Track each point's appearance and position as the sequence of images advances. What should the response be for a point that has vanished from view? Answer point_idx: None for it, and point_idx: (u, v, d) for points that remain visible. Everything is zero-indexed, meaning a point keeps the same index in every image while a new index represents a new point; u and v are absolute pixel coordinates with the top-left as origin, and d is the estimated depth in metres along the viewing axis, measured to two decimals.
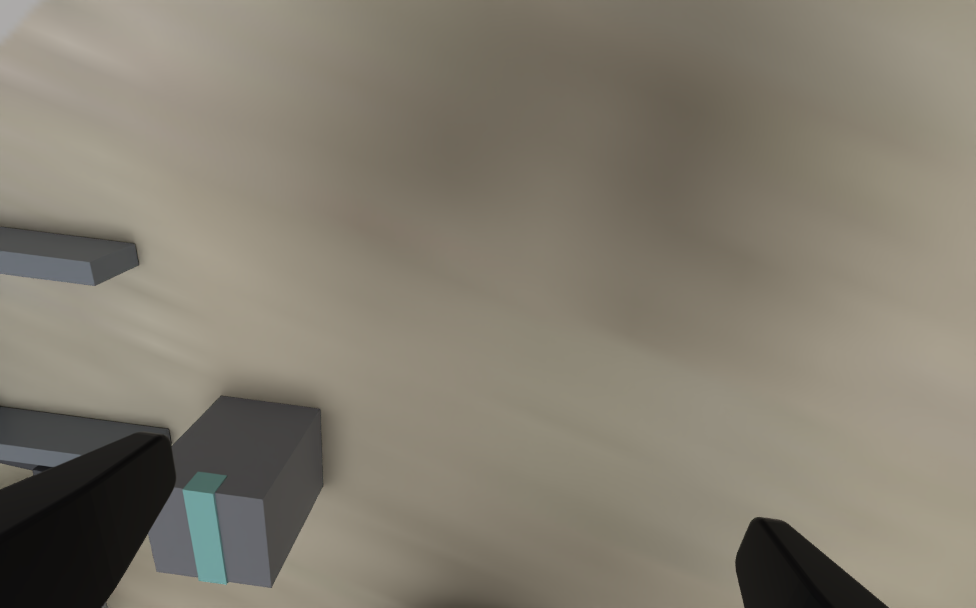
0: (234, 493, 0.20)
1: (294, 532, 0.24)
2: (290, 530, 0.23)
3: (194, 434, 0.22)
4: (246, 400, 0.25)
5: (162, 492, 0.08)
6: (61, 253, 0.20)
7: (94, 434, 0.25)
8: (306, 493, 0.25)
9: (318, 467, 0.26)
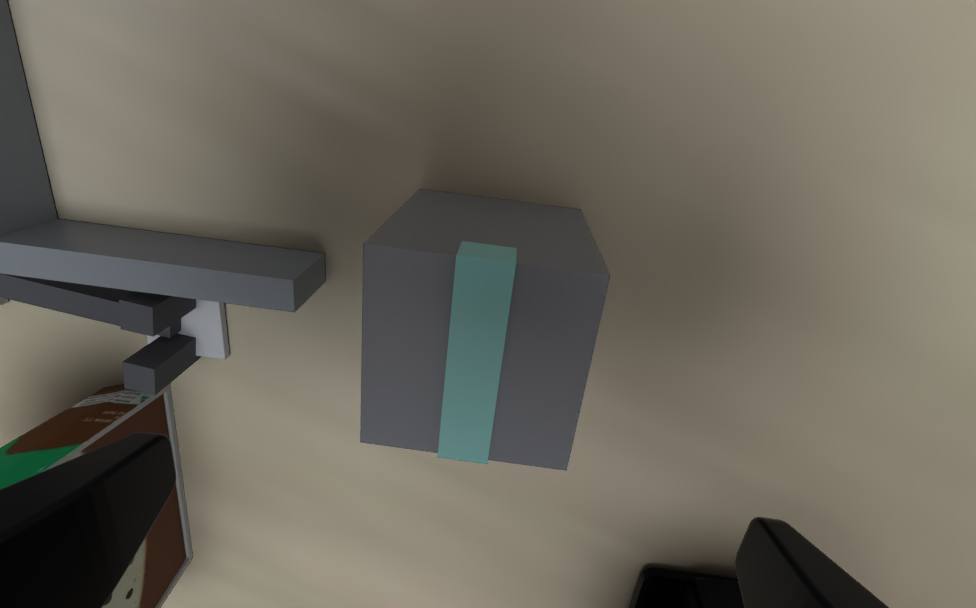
0: (551, 266, 0.10)
1: None
2: None
3: (416, 212, 0.13)
4: (462, 195, 0.16)
5: (162, 492, 0.08)
6: None
7: (214, 250, 0.16)
8: None
9: None
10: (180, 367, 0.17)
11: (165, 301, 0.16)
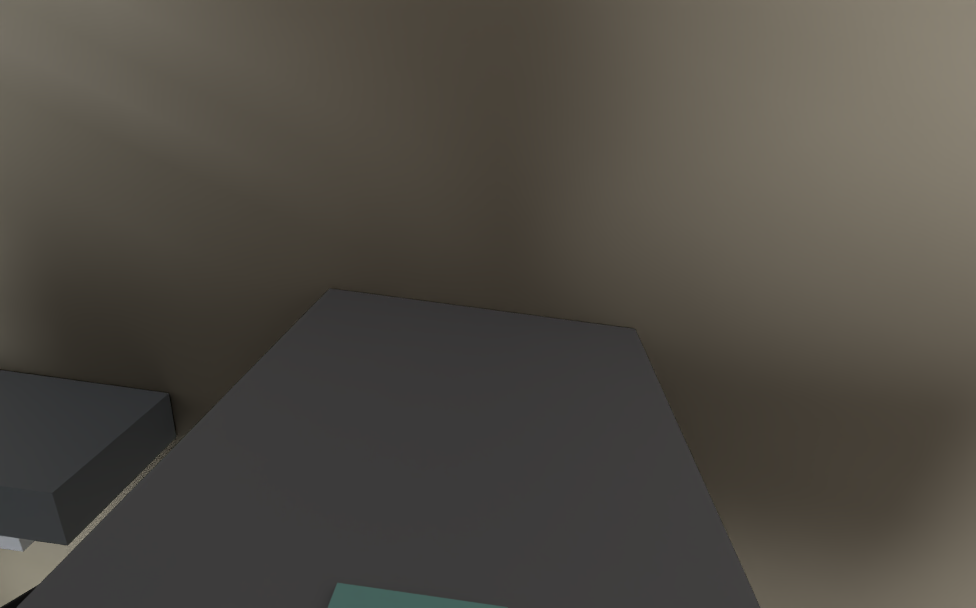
0: None
1: None
2: None
3: (274, 393, 0.06)
4: (408, 302, 0.08)
5: None
6: None
7: None
8: None
9: None
10: None
11: None
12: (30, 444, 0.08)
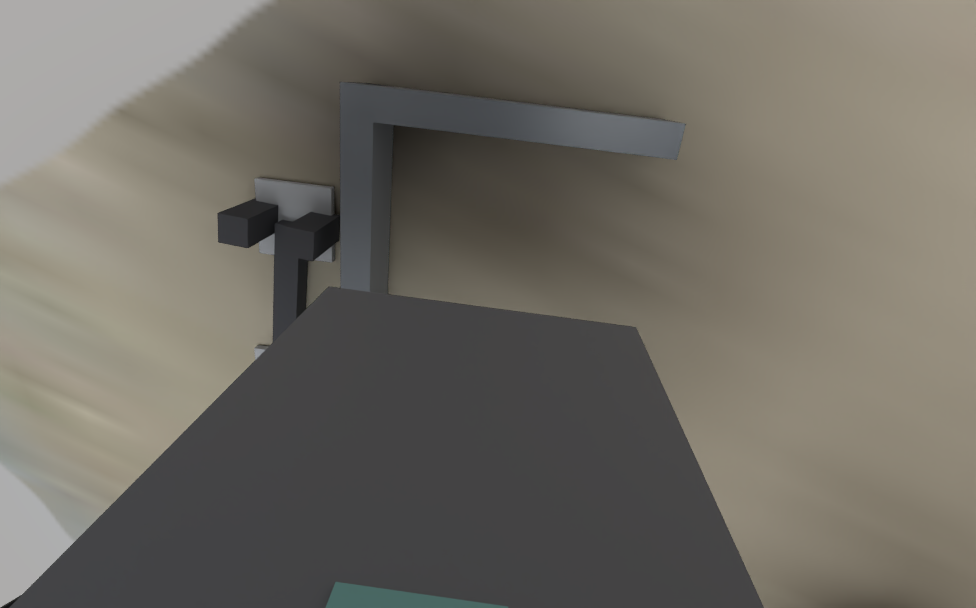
0: None
1: None
2: None
3: (273, 391, 0.05)
4: (408, 300, 0.08)
5: None
6: (628, 116, 0.15)
7: None
8: None
9: None
10: None
11: None
12: None
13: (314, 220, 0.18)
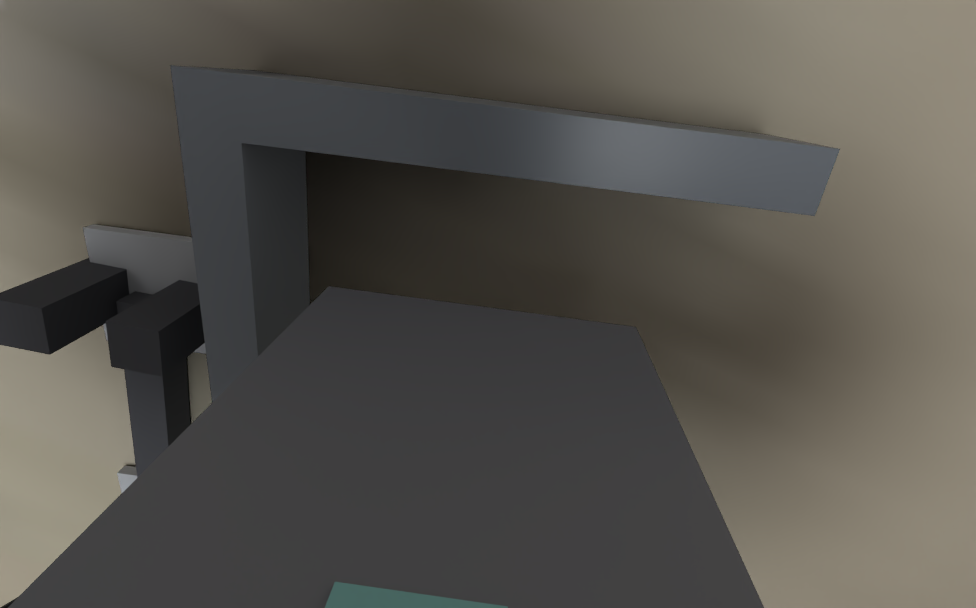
0: None
1: None
2: None
3: (273, 392, 0.05)
4: (408, 300, 0.08)
5: None
6: (723, 133, 0.08)
7: None
8: None
9: None
10: None
11: None
12: None
13: (175, 301, 0.11)
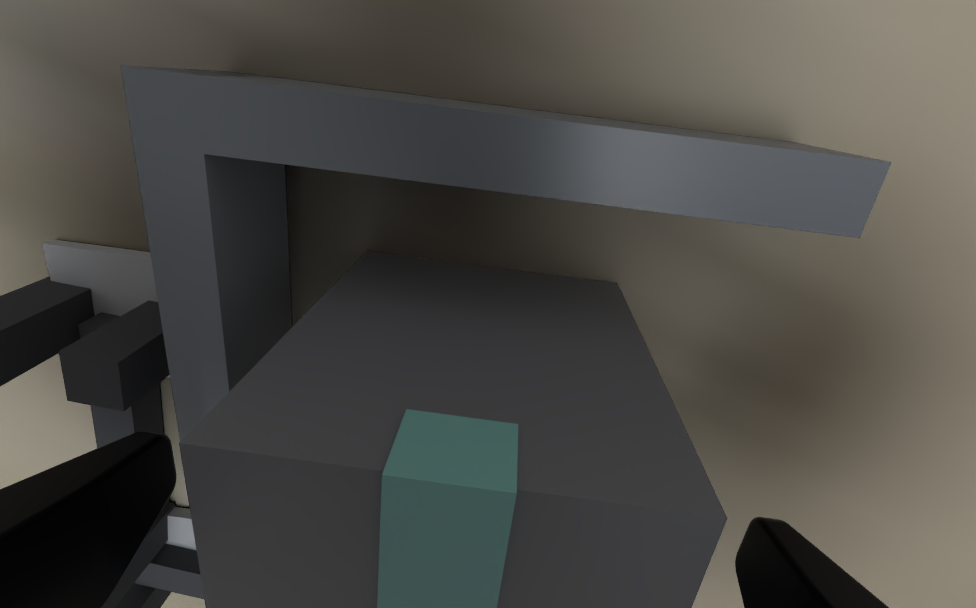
0: (595, 493, 0.05)
1: None
2: None
3: (341, 314, 0.07)
4: (432, 261, 0.10)
5: (162, 492, 0.08)
6: (754, 143, 0.07)
7: None
8: None
9: None
10: None
11: None
12: None
13: (141, 325, 0.10)
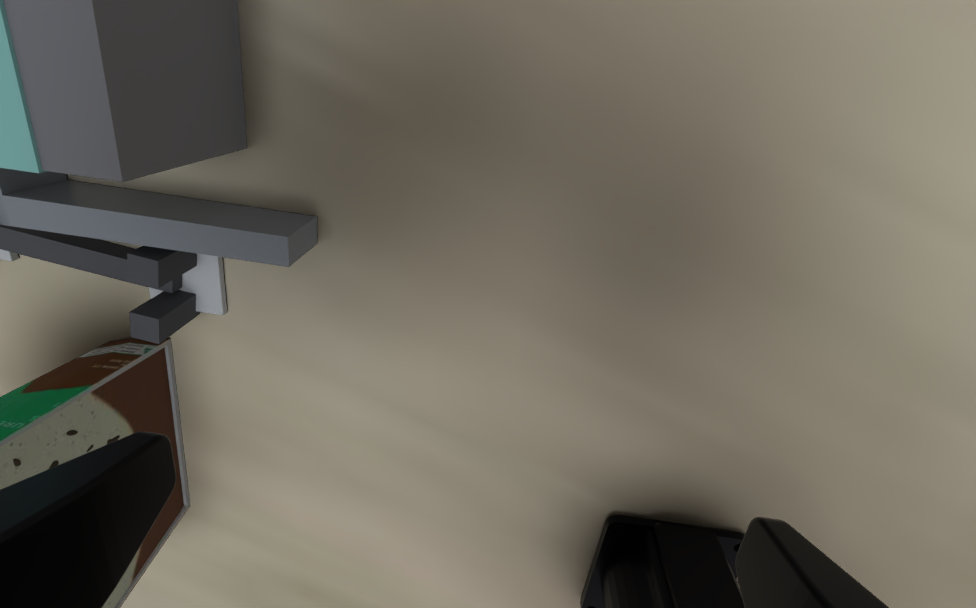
0: None
1: (181, 143, 0.14)
2: (170, 124, 0.13)
3: None
4: None
5: (162, 492, 0.08)
6: None
7: (215, 211, 0.17)
8: (208, 104, 0.15)
9: (235, 95, 0.16)
10: (181, 320, 0.19)
11: (169, 256, 0.17)
12: (266, 225, 0.17)
13: None
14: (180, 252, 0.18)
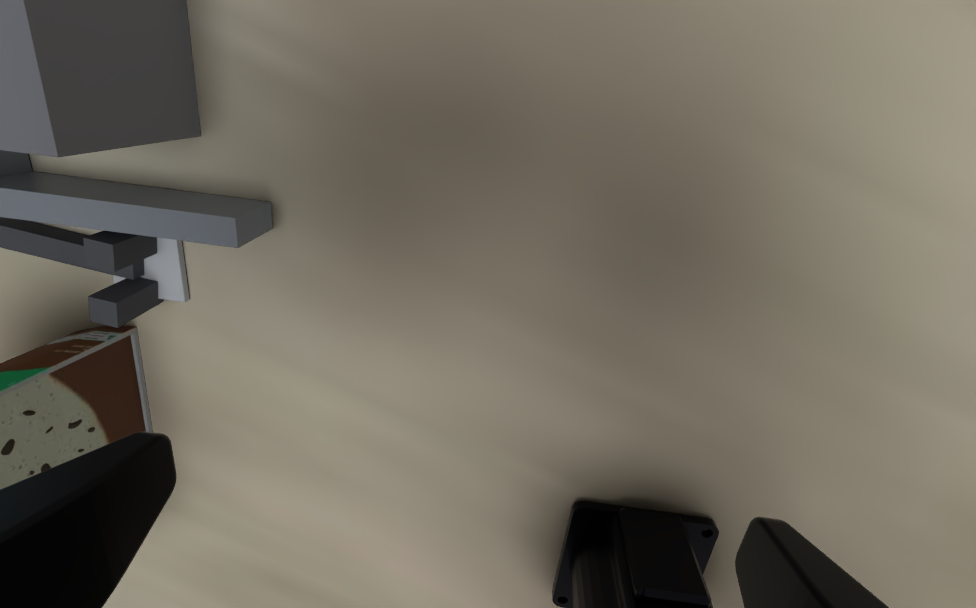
0: None
1: (124, 124, 0.14)
2: (112, 106, 0.14)
3: None
4: None
5: (162, 492, 0.08)
6: None
7: (170, 197, 0.18)
8: (154, 89, 0.15)
9: (186, 84, 0.17)
10: (142, 306, 0.19)
11: (125, 241, 0.18)
12: (217, 208, 0.17)
13: None
14: (138, 238, 0.18)
